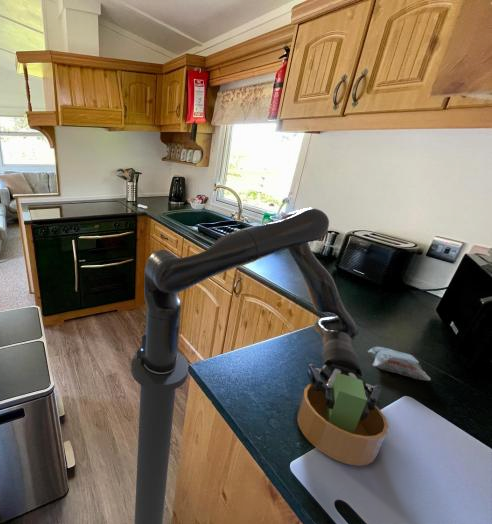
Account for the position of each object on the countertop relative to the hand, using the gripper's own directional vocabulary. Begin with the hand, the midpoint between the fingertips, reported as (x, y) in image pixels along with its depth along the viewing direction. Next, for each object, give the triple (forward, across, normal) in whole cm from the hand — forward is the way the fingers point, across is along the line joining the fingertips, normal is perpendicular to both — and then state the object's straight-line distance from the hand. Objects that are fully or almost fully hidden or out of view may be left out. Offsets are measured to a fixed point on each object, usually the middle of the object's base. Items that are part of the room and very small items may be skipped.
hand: (346, 410), depth 56 cm
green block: (-3, 0, +6) cm, 7 cm away
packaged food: (-35, +16, +9) cm, 39 cm away
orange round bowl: (-3, 0, +8) cm, 9 cm away
